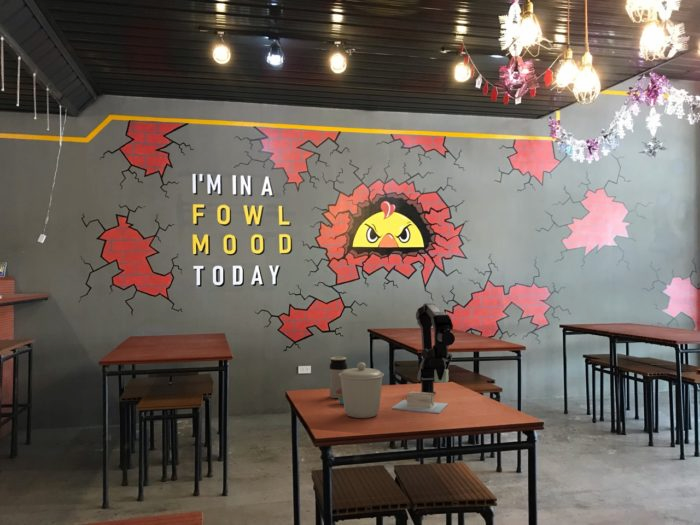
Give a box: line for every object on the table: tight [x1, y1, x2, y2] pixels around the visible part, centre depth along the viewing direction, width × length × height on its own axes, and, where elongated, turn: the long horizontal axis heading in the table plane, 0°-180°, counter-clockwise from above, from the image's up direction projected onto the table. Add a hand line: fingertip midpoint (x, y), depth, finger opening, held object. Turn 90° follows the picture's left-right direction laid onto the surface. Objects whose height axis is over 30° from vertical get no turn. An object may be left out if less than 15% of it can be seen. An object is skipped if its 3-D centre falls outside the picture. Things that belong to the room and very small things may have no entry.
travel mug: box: [329, 356, 348, 399], centre depth 254 cm, size 8×8×18 cm
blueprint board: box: [391, 399, 449, 414], centre depth 235 cm, size 16×20×1 cm
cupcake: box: [336, 388, 344, 405], centre depth 242 cm, size 9×8×12 cm
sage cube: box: [434, 369, 449, 384], centre depth 239 cm, size 5×5×5 cm
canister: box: [339, 361, 385, 419], centre depth 222 cm, size 18×18×21 cm
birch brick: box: [406, 391, 435, 408], centre depth 235 cm, size 6×10×5 cm, turn 69°
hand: (441, 379), depth 239 cm, fingers closed on sage cube, 5 cm apart
